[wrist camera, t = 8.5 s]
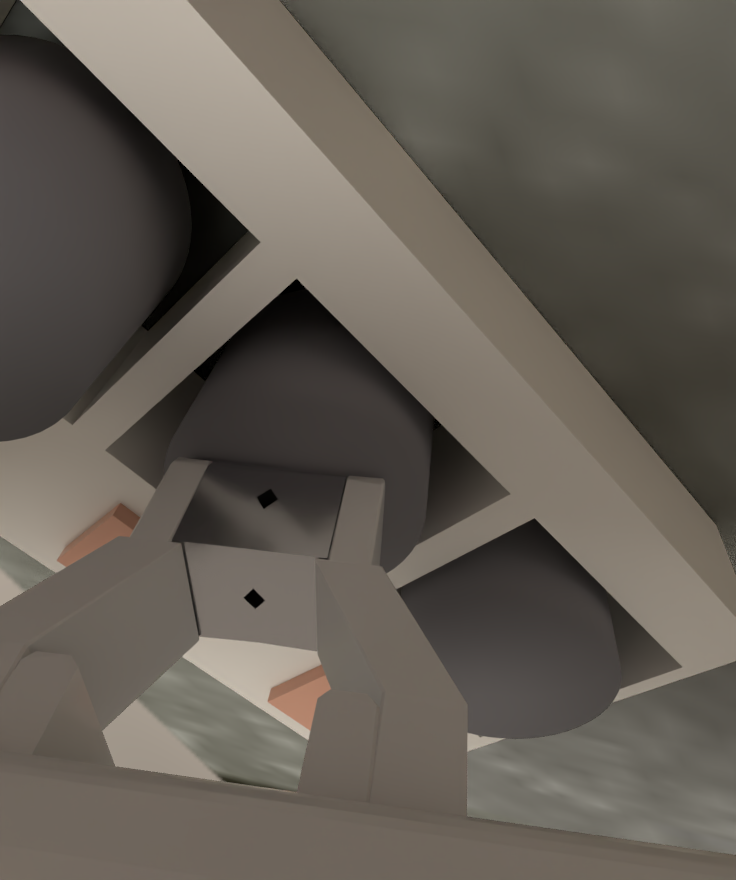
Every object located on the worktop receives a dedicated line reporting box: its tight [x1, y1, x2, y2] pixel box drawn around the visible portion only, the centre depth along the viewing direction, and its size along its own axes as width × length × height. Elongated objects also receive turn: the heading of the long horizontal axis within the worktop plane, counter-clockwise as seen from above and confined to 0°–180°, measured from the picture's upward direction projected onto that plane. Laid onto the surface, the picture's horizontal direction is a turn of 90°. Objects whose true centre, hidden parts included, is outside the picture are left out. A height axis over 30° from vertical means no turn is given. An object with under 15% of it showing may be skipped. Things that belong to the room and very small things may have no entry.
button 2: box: [401, 518, 622, 739], centre depth 13 cm, size 4×4×3 cm
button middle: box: [163, 290, 434, 574], centre depth 11 cm, size 4×4×3 cm
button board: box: [0, 0, 736, 751], centre depth 12 cm, size 15×9×3 cm, turn 43°
